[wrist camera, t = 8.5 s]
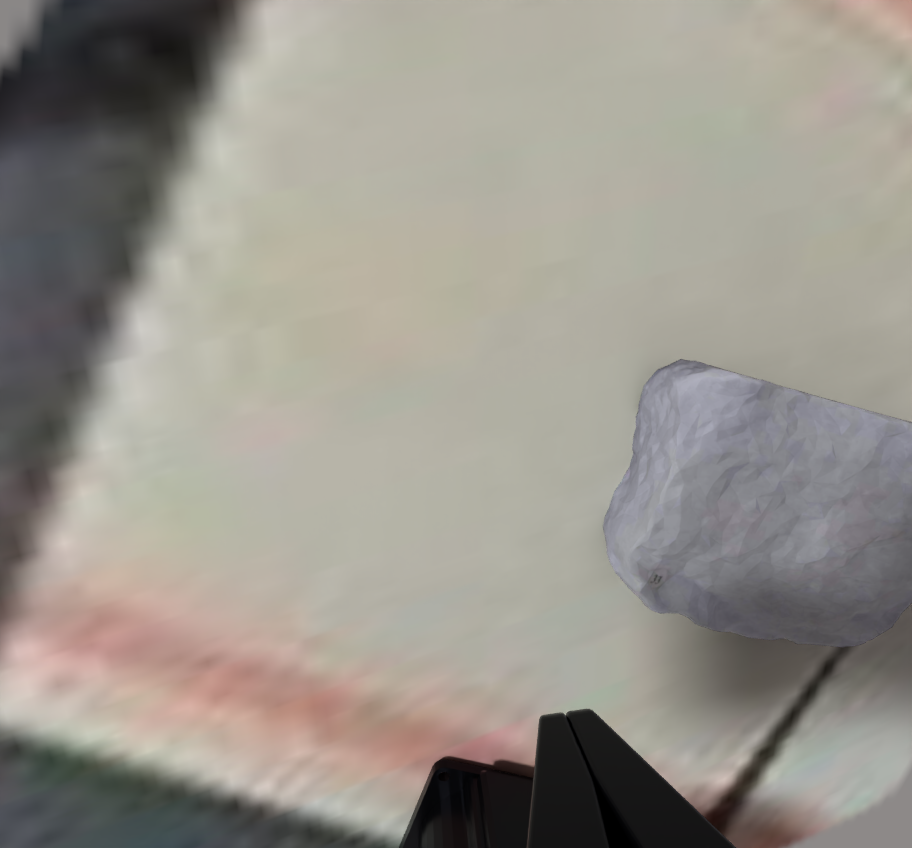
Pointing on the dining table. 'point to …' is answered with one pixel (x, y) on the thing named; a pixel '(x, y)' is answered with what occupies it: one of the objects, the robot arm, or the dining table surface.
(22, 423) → the dining table surface
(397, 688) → the dining table surface
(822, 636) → the stone block
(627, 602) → the dining table surface
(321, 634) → the dining table surface
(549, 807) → the robot arm
